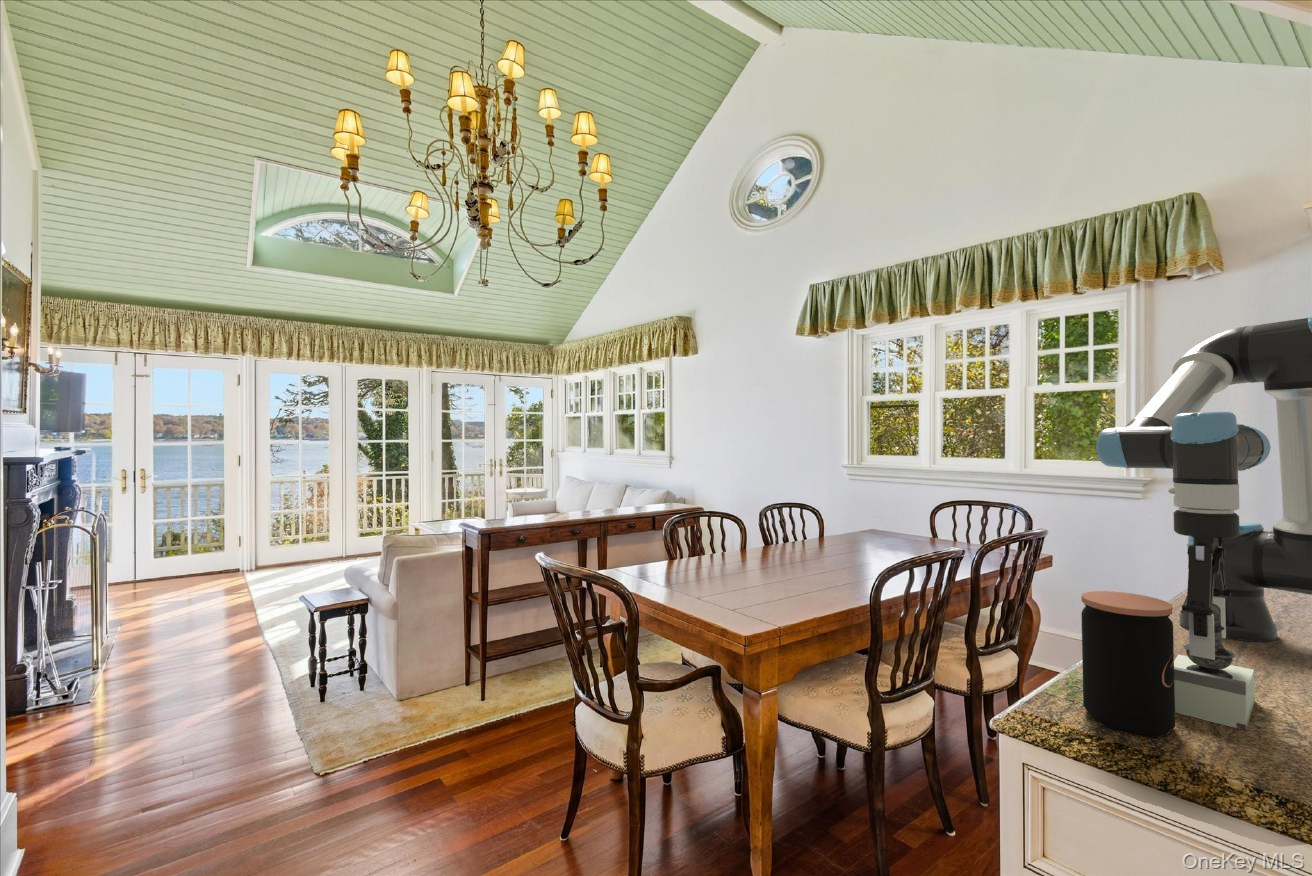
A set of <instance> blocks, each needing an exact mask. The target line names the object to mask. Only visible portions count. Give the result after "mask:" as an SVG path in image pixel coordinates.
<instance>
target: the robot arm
mask: <svg viewBox="0 0 1312 876" xmlns="http://www.w3.org/2000/svg"><path fill="white" fill-rule="evenodd" d="M1171 374H1172V375H1171V376H1170V377H1169V378H1168V379H1167V380H1166V382H1165V383H1164V384H1163V385H1162V386H1161V387H1160V388H1159V389H1158V390H1157V391H1156V392H1155V394H1154V395H1153V396H1152V397H1151V398H1150V399H1149V400H1148V401H1147V402H1146V404H1145V405H1144V406H1143V407H1142V408H1141V409H1140V410H1139V411H1138V413H1136V414H1135V416H1134V417H1133V418H1132V419H1130V421H1129V422H1128V423H1127V424H1126V425H1125V427H1119V426H1116V427H1109V428H1105V429H1103V430H1100V432H1099V433H1098V435H1097V438H1096V446H1095V447H1096V453H1097V457H1098V459H1099V461H1100V462H1101V464H1103V465H1104V466H1106V467H1111V468H1124V469H1169V470H1170V469H1171V470H1172V483H1173V484H1172V485H1173V487H1169V488H1168V494H1171V495H1174V496H1173V506H1174V507H1175V508H1178V509H1176V510H1175V511H1174V512H1173V531H1174V532H1175V533H1176V534H1178V535H1180V536H1188V537H1187V538H1188V540H1187V541H1188V542H1187V544H1186V547H1187V558H1188V559H1187V560H1188V565H1187V567H1188V568H1187V569H1188V573H1187V590H1186V591H1187V592H1186V593H1187V595H1186V597H1185V599H1184V602H1183V604H1182V605H1181V610H1179V615H1178V617H1179V618H1178V619H1179V621H1178V623H1179V625H1181V626H1182V627H1183V628H1186V629H1188V640H1189V641H1188V642H1189V643H1188V644H1189V653H1190V655H1192V656H1197V657H1202V658H1207V659H1212V660H1215V639H1214V615H1213V614H1212V613H1213V610H1212V604H1216V605H1217V606H1219V608H1220V610H1221V626H1222V627H1224V630H1222V639H1230V640H1236V641H1237V640H1238V641H1247V642H1272V641H1275V640H1277V639H1278V627H1277V624H1275V622H1274V620H1273V617H1272V615H1271V612H1270V610H1269V607H1268V605H1267V602H1266V600H1265V589H1271V590H1278V591H1283V592H1291V593H1296V594H1297V593H1298V594H1303V595H1308V596H1309V595H1311V596H1312V316H1310V317H1305V318H1297V319H1289V320H1285V321H1278V322H1277V321H1276V322H1275V321H1274V322H1270V323H1269V322H1268V323H1261V324H1254V325H1246V326H1240V327H1235V328H1232V329H1228V330H1225V331H1221V332H1220V333H1217V334H1215V335H1212V336H1211V337H1208V338H1207V339H1205V340H1203V341H1202V342H1200V343H1198V344H1197V345H1195V346H1193V347H1192V348H1190V349H1189V350H1188V351H1187V352H1185V353H1184V354H1183V355H1181V357H1180V358H1179V359H1178V360H1177V361H1176V362H1175V363H1174V365H1173V367H1172V371H1171ZM1247 383H1248V384H1249V383H1250V384H1251V383H1252V384H1253V383H1263V386H1264V388H1263V390H1264V392H1265V393H1266V394H1268V395H1270V396H1271V397H1272V398H1274V399H1275V403H1276V404H1275V405H1276V407H1275V408H1276V420H1277V421H1276V422H1277V437H1278V438H1277V439H1278V453H1279V467H1280V468H1279V469H1280V470H1279V471H1280V485H1281V486H1280V487H1281V500H1282V501H1281V502H1282V515H1283V516H1282V518H1281V519H1279V520H1278V521H1276V522H1275V523H1273V524H1272V531H1266V530H1265V529H1264V526H1263V525H1262V523H1258V522H1255V523H1254V522H1240V515H1239V514H1238V513H1236V512H1235V511H1238V510H1239V509H1240V484H1239V471H1240V472H1241V471H1242V472H1243V471H1246V470H1250V469H1253V468H1254V467H1257V466H1259V465H1261V464H1263V462H1265V461H1266V459H1267V458H1268V457H1269V455H1270V452H1271V447H1272V446H1271V445H1270V444H1271V443H1270V440H1269V438H1268V437H1267V435H1266V434H1264V433H1263V432H1262V431H1261V430H1260V429H1257V428H1255V427H1253V426H1249V425H1245V424H1240V423H1238V422H1237V416H1236V414H1235V413H1234V412H1230V411H1209V412H1208V411H1204V412H1201V411H1202V409H1203V408H1204V407H1205V405H1206V404H1207V403H1208V401H1209V400H1211V398H1212V397H1213V396H1214V395H1215V394H1217V393H1220V392H1222V391H1224V390H1225V389H1227V388H1228V387H1229V386H1232V385H1237V384H1238V385H1239V384H1240V385H1241V384H1247Z"/></svg>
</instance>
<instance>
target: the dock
mask: <svg viewBox="0 0 1312 876" xmlns="http://www.w3.org/2000/svg"><path fill="white" fill-rule="evenodd" d="M1191 665H1197V664H1195V663H1193V662H1192V661H1191V660H1190V659H1189V657H1188V655H1184V654H1183V655H1182V654H1177V656H1176V657H1175V659H1174V687H1175V714H1180V715H1184V716H1187V717H1192V718H1194V719H1195V718H1196V719H1199V720H1204V721H1206V722H1211V723H1215V724H1219V725H1223V726H1225V727H1230V728H1235V729H1239V730H1242V731H1245V732H1246V731H1247V730H1248V726H1249V723H1250V719H1251V715H1252V713H1253V708H1254V705H1255V702H1256V695H1255V693H1256V692H1255V691H1256V690H1255V669H1251V668H1247V667H1243V666H1238V665H1233V664H1230V665H1229V666H1228V667H1227V668H1225V669H1222V670H1224V671H1226V672H1228V673H1229V674H1231V675H1232V677H1233V678H1232V679H1229V678H1225V677H1220V676H1215V675H1210V674H1206V673H1201V672H1196V671H1192V670H1187V669H1186V668H1187V667H1188V666H1191Z"/></svg>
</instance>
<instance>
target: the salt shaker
mask: <svg viewBox="0 0 1312 876" xmlns="http://www.w3.org/2000/svg"><path fill="white" fill-rule="evenodd" d="M1212 610H1213V613H1212V614H1213V615H1214V639H1215V660H1212V659H1207V658H1202V657H1197V656H1192V655H1190V653H1189V643H1186V644H1184V645H1183V649H1185V650H1186V651H1185V652H1186V656H1188V657H1189V659H1190V660H1191V661H1192V662H1193V663H1195V664H1197V665H1191V666H1188V667H1187V668H1186V669H1187V670H1192V671H1196V672H1201V673H1206V674H1210V675H1215V676H1220V677H1225V678H1229V679H1232V678H1233V677H1232V675H1231V674H1229V673H1228V672H1226V671H1224V670H1222V669H1225V668H1227V667H1228V666H1229V665H1232V662H1233V658H1235V657H1236V654H1235V653H1234V652H1233V651H1232V650H1231V651H1230V650H1228V649H1226V648H1225V646H1224V645H1223V638H1222V630H1224V627H1222V626H1221V610H1220V608H1219V606H1217V605H1216V604H1212Z"/></svg>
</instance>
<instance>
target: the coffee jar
mask: <svg viewBox="0 0 1312 876" xmlns="http://www.w3.org/2000/svg"><path fill="white" fill-rule="evenodd" d="M1080 598H1081V602H1082V603H1083V605H1084V607H1083V608H1082V611H1081V648H1082V649H1081V653H1082V654H1081V655H1082V657H1081V658H1082V660H1081V661H1082V663H1081V665H1082V701H1083V702H1082V705H1083V707H1084V709H1085V711H1086V712H1087V714H1088V715H1089V716H1090V717H1091V719H1093V720H1094V721H1095V722H1097V723H1098V724H1100V725H1102V726H1104V727H1107V728H1108V729H1112V730H1114V731H1117V732H1119V733H1120V732H1121V733H1124V734H1128V735H1133V736H1138V735H1140V737H1144V736H1145V737H1146V738H1147V737H1148V738H1159V737H1165V736H1167V735H1168V734H1170V732H1171V731H1172V730H1174V729H1175V727H1176V713H1175V687H1174V660H1175V659H1174V658H1175V651H1174V649H1175V646H1174V644H1175V643H1174V641H1175V640H1174V623H1173V621H1172V620H1171V618H1170V616H1171V615H1172V614H1173V610H1174V609H1173V604H1171V603H1169V602H1168V601H1165V600H1163V599H1159V598H1157V597H1156V598H1155V597H1152V596H1148V595H1142V594H1137V593H1132V592H1131V593H1129V592H1124V591H1123V592H1122V591H1109V590H1107V591H1106V590H1101V591H1100V590H1094V591H1085V592H1084V593H1081V597H1080Z"/></svg>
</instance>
